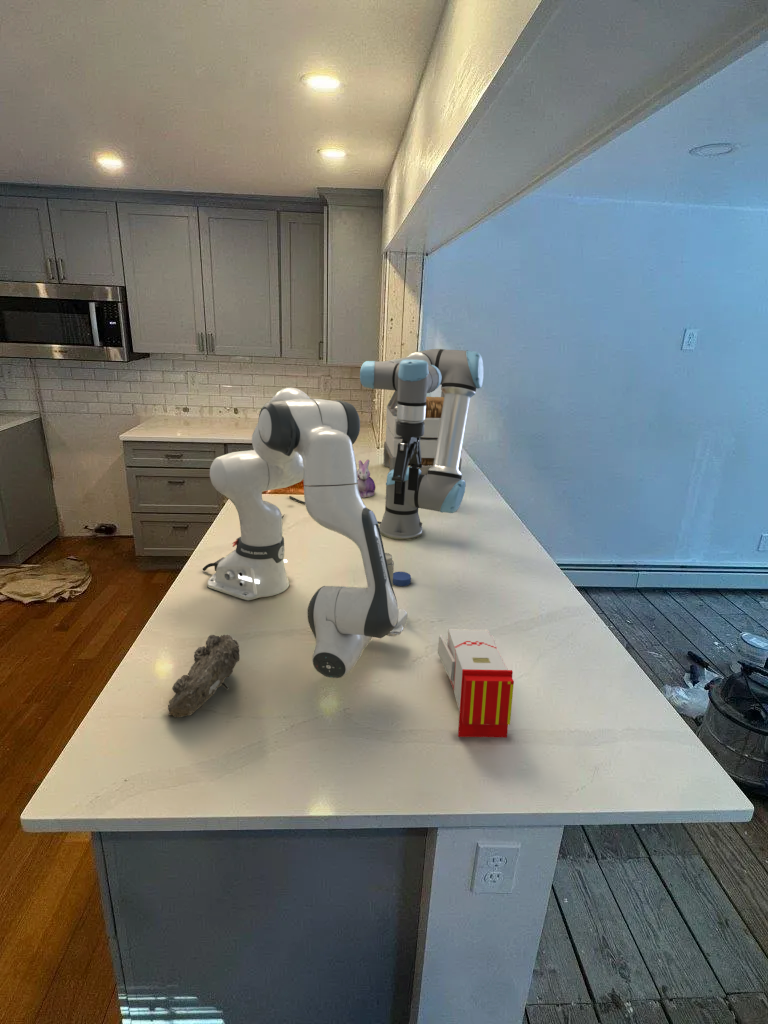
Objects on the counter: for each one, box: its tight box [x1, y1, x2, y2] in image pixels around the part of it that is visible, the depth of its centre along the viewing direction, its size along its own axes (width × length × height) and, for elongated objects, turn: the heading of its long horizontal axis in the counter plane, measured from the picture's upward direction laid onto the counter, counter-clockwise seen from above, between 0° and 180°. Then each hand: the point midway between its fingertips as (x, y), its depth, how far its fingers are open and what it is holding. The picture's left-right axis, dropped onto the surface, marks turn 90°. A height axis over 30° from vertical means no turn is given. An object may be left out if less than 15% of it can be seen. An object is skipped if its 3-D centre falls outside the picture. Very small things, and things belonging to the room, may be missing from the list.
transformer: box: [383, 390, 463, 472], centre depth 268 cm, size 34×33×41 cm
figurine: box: [357, 459, 376, 499], centre depth 237 cm, size 9×10×15 cm
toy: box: [437, 628, 515, 738], centre depth 117 cm, size 12×13×30 cm
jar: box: [385, 552, 395, 588], centre depth 148 cm, size 5×5×15 cm
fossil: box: [167, 634, 241, 718], centre depth 115 cm, size 22×10×15 cm
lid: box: [393, 571, 412, 587], centre depth 165 cm, size 6×6×2 cm
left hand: (373, 599), depth 140 cm, fingers open, 8 cm apart
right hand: (406, 497), depth 157 cm, fingers open, 13 cm apart
